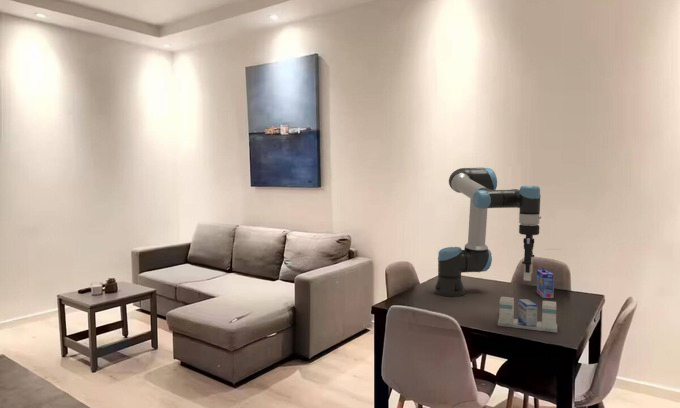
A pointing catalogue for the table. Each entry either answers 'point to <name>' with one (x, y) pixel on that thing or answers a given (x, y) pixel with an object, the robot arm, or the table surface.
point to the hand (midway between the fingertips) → (528, 276)
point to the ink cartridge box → (545, 283)
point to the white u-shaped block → (508, 320)
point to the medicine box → (527, 312)
